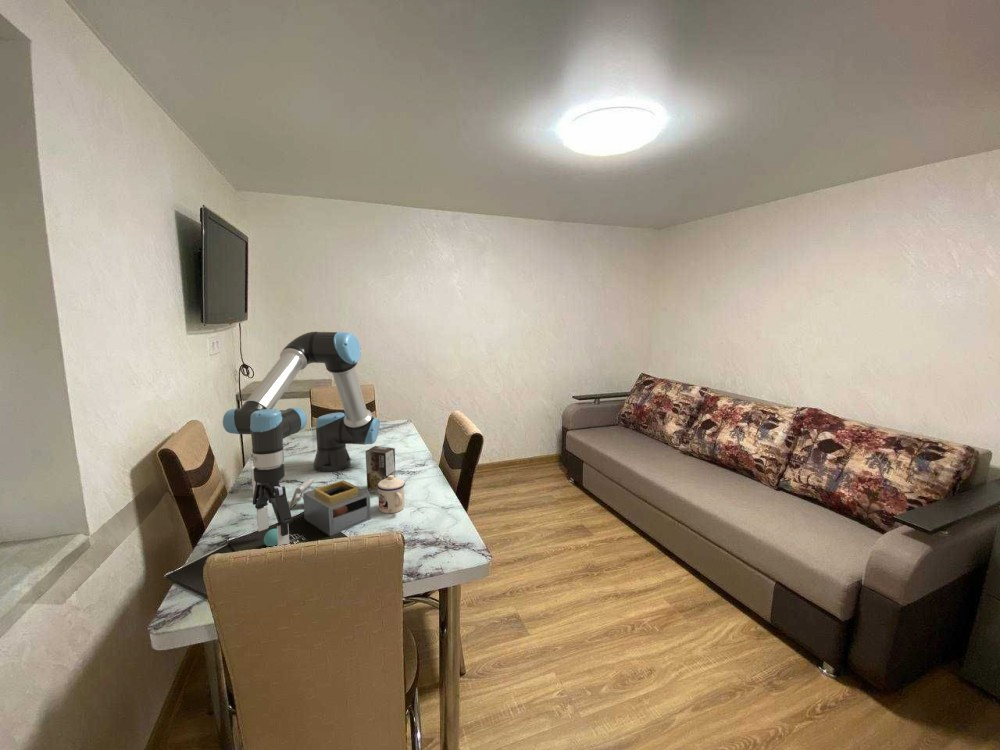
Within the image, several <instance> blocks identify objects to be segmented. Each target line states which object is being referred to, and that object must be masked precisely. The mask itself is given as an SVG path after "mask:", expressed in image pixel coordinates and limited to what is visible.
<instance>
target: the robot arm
mask: <svg viewBox="0 0 1000 750" xmlns="http://www.w3.org/2000/svg"><path fill="white" fill-rule="evenodd" d="M361 349H362V348H361V345H360V342H359V340H358V338H357V336H355V334H353V333H351V332H345V331H310V332H306V333H303V334H301V335H299V336H297V337H295V338H294V339H293V340H291V341H290V342H289V343H287V345H285V347H284V348H282V350H281V352H280V353H279V359H278V360H277V361H276V363H275V364H274V366H272V368H271V369H270V371H269V372H268V373H267V374H266V375H265V377H263V379H262V380H261V382H260V383H259V384H258V385H257V387H256V388H255V389H254V390H253V392H252V393H251V394H250V395H249V397H248V398H247V399H246V401H245V402H244V403H243V405H241V407H239V408H237V407H236V408H231V409H229V410H227V411H226V412H225V413H224V415H223V418H222V426H223V428H224V430H225V431H226V432H227V433H229V434H234V435H235V434H236V435H240V436H241V435H250V436H251V448H252V450H251V452H252V453H251V454H252V457H250V460H251V461H252V464H253V465H252V466H254V467H255V468H254V469H253V472H254V481H255V482H256V485H255V491H254V495H253V497H252V505H254V507H255V509H256V521H257V524H256V525H257V531H258V532H262V531H264V530H267V529H269V528H270V527H269V512H268V507H267V506H268V505H269V504H271V506H272V509H273V512H274V514H275V518H276V521H277V523H276V524H275V526H276V529H277V538H278V545H282V544H288V545H290V530H289V524H291V523H293V516H292V514H291V508H290V509H289V505H288V501H289V500H288V497H287V491H286V487H285V486H284V485H283V486H281V485H280V481H281V480H282V479H284V478H285V475H286V474H285V464H284V462H285V455H284V454H285V452H284V439H286V438H287V437H289V436H292V435H295V434H297V433H299V432H300V431H302V430H303V429H304V428H306V425H307V424H308V417H307V414H306V412H305V411H304V410H303V409H302V408H298V407H291V408H290V407H289V408H287V409H286V408H285V409H276V408H275V406H276V404H277V403H278V402H279V400H280V399H281V398H282V396H283V394H284V393H286V391H287V389H288V388H289V387H290V385H291V384H292V383H293V380H294V379H295V378H296V376H297V375H298V374H299V372H300V371H302V370H304V369H305V368H306V367H307V366H308V365H309V364H324V366H325V369H326V370H327V372H329V373H330V374H331V373H332V376H333V380H334V383H335V387H336V389H337V392H338V396H339V399H340V402H341V404H342V408H343V410H344V412H332V413H327V414H324V415H321V416H319V417H316V420H315V432H316V433H315V434H316V435H315V436H316V447H317V448H316V450H317V451H316V454H315V457H314V459H313V469H314V470H315V471H317V472H321V473H322V472H323V473H330V472H337V471H341V470H345V469H346V468H349V467H350V466H351V464H352V462H351V457H350V455H349V452H348V450H347V444H348V445H363V446H366V445H373V444H375V442H376V441H377V439H378V438H379V437H378V436H379V433H380V425H381V424H380V420H379V419H380V418H378V417H376V416H374V417H373V414H372V412H371V411H370V409H367V406H366V402H365V399H364V398H365V397H364V396H363V392H362V388H361V384H360V381H359V377H358V374H357V369H356V367H357V365H358V362H359V361H360V360H361V353H362V352H361Z"/></svg>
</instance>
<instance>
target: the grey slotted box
mask: <svg viewBox="0 0 1000 750" xmlns="http://www.w3.org/2000/svg"><path fill="white" fill-rule="evenodd" d="M303 499H304V500H303ZM302 500H303V514H304V519H305V518H306V519H308V520H309V521H310V522H312V523H313V524H314V525H316V526H317V527H318V528H319V529H318V528H317V527H316V528H317V529H318V530H320V529H321V530H322V531H321V530H320V531H321V532H323V533H324V532H325V533H324V534H326V533H327V534H328V535H327V534H326V535H327V536H329V535H330V536H329V537H331V535H332V536H334V535H336V534H339V533H341V532H343V531H346V530H348V529H351V528H353V527H355V526H359V525H360V524H362V523H365V522H367V521H369V520H371V519H372V517H371V515H372V514H371V493H370V492H369V491H367V490H364V489H363V488H361V487H358V486H356V485H354V484H352V483H350V482H348V481H345V480H339V481H336V482H334V483H330V484H327V485H324V486H321V487H317V488H314V489H312V490H309V491H308V492H305V493H303V498H302ZM344 505H346V506H347V508H348V512H347V513H345V514H342V515H340V516H337V517H335V518H333V509H336V508H339V507H341V506H344ZM314 525H313V526H314Z"/></svg>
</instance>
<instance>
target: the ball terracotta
mask: <svg viewBox="0 0 1000 750" xmlns="http://www.w3.org/2000/svg"><path fill="white" fill-rule="evenodd" d="M347 512H348V508H347V506H346V505H344V506H341V507H339V508H336V509H333V518H335V517H337V516H340V515H342V514H345V513H347Z"/></svg>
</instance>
